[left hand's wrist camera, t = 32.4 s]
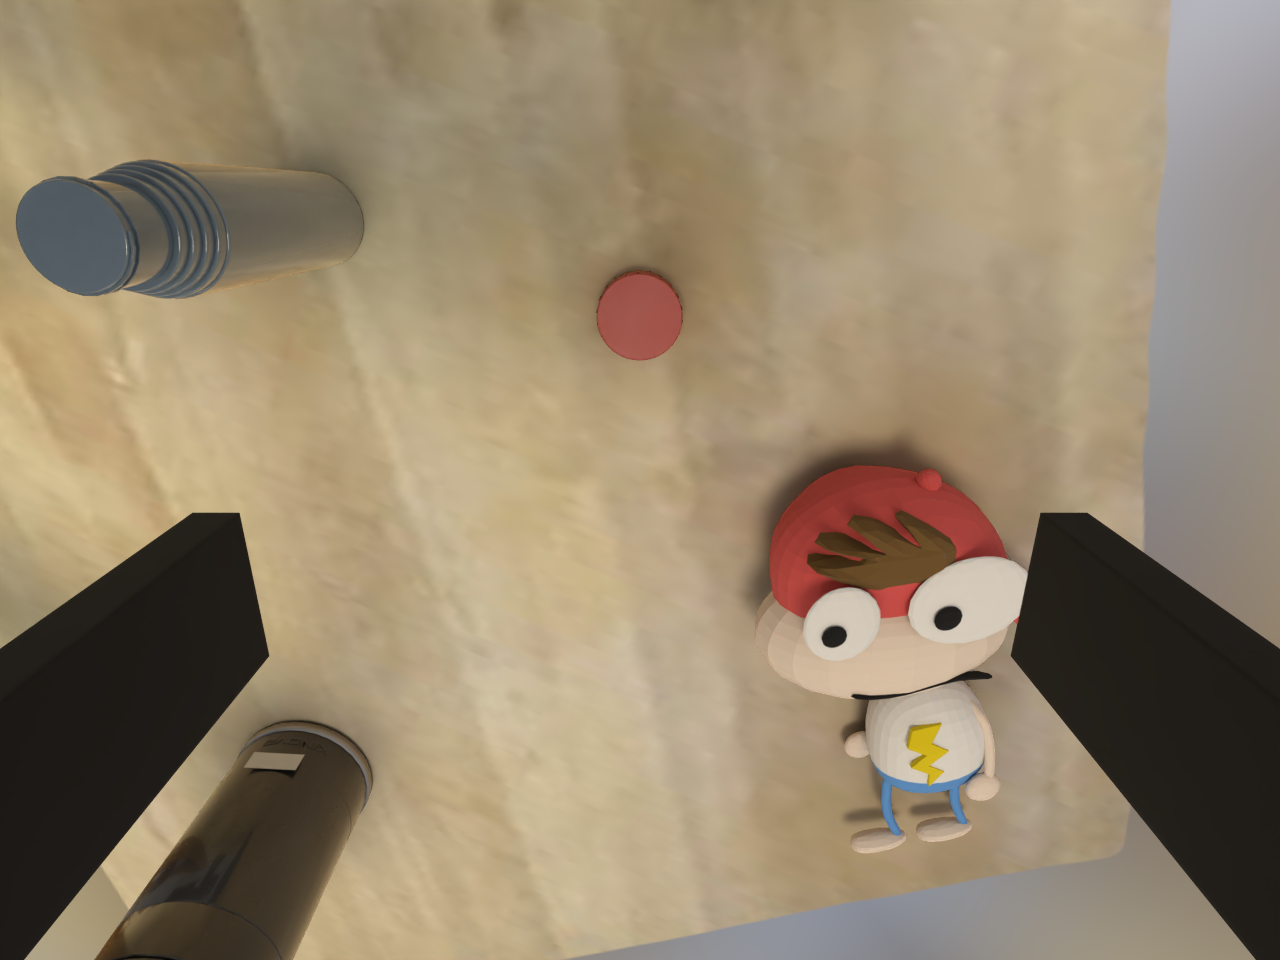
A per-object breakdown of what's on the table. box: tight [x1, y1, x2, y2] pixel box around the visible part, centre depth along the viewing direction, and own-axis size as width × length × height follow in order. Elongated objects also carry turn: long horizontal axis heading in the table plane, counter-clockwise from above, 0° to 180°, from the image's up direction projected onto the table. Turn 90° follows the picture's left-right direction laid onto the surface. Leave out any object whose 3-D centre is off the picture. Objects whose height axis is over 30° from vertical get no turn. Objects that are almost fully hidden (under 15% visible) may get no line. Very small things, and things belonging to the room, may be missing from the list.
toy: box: [755, 465, 1028, 853], centre depth 47 cm, size 18×10×30 cm
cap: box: [596, 270, 683, 360], centre depth 41 cm, size 5×5×2 cm
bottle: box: [16, 159, 363, 299], centre depth 32 cm, size 5×5×19 cm
